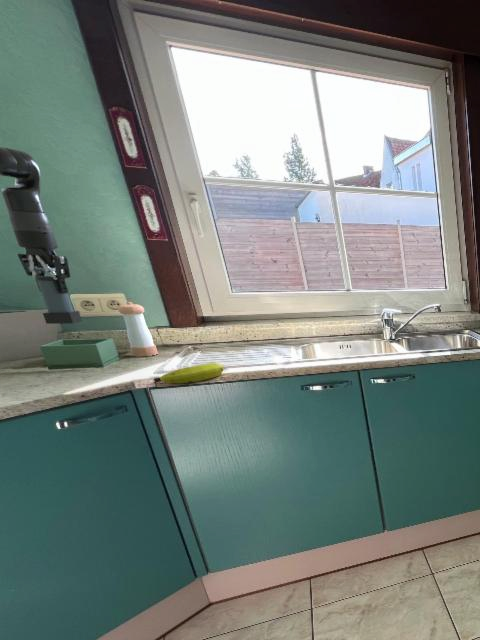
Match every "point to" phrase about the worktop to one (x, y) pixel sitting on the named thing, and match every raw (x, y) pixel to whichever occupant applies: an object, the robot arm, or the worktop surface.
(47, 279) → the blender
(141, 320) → the salt shaker
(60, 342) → the tote
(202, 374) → the banana
